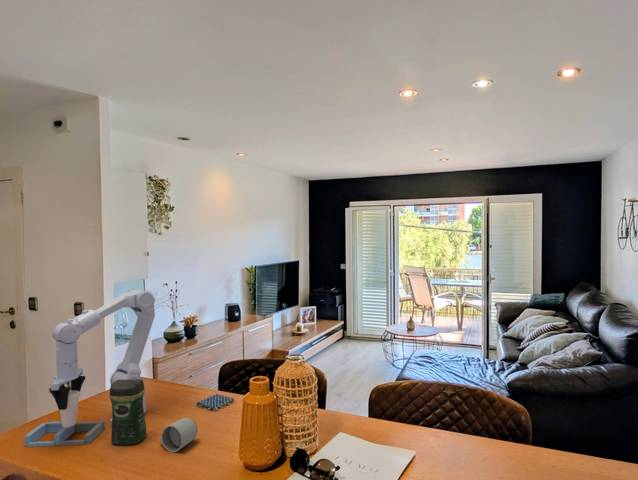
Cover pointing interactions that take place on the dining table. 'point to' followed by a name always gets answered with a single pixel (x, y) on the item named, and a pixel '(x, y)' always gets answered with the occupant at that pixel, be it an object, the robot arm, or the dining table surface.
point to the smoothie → (70, 409)
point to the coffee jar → (127, 412)
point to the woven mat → (215, 402)
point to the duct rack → (63, 433)
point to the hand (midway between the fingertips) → (68, 404)
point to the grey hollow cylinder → (179, 434)
